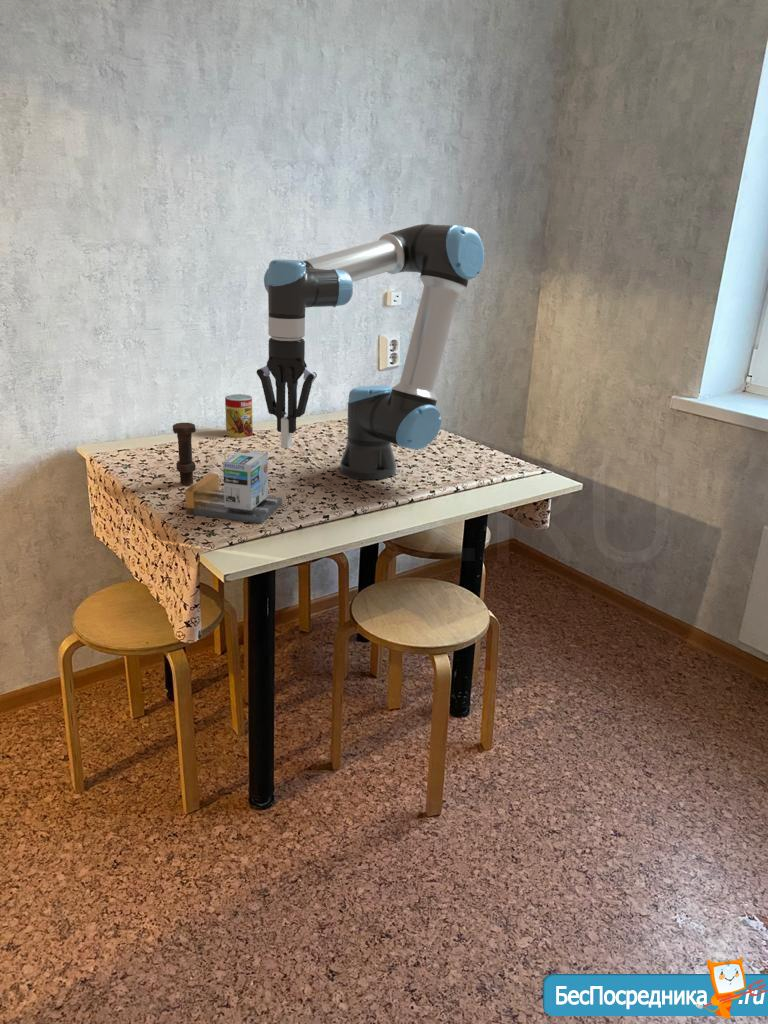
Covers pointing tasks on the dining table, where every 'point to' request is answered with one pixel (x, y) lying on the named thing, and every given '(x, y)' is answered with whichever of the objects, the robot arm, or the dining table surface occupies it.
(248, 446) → the dining table surface
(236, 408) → the canned food
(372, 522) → the dining table surface
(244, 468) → the light bulb box
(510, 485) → the dining table surface
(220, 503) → the rail plate
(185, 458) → the bolt
